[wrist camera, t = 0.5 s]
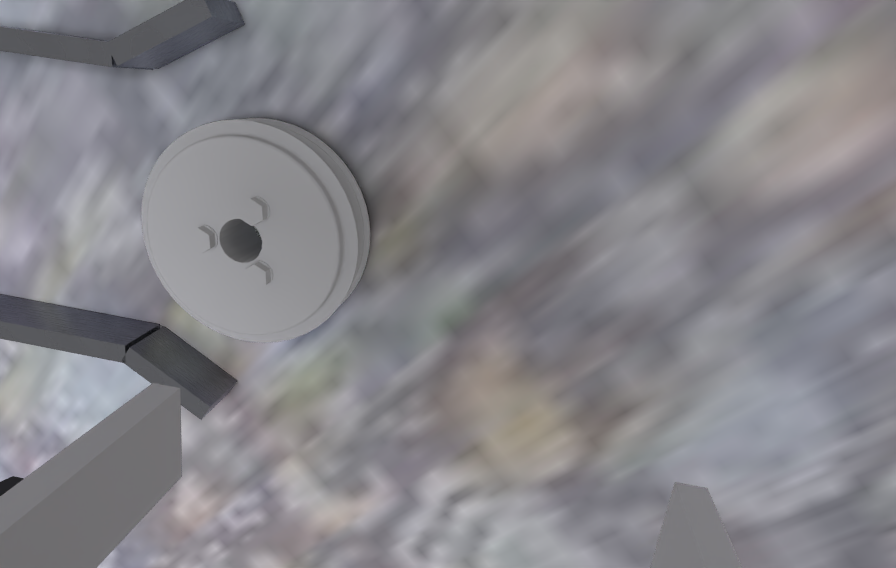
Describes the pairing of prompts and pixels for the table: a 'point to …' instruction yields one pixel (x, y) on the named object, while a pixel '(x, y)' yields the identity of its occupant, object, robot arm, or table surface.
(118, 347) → the steel bracket
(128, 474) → the robot arm
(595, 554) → the table surface
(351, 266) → the grey pulley wheel
